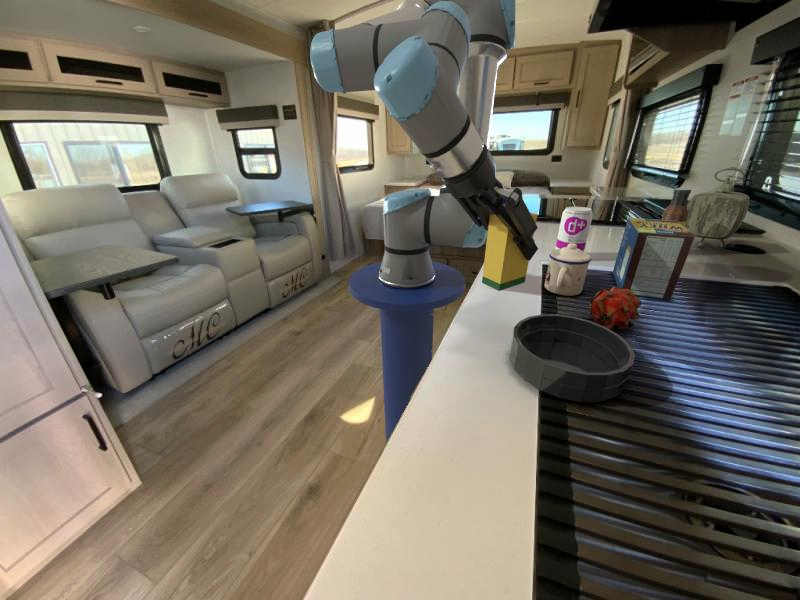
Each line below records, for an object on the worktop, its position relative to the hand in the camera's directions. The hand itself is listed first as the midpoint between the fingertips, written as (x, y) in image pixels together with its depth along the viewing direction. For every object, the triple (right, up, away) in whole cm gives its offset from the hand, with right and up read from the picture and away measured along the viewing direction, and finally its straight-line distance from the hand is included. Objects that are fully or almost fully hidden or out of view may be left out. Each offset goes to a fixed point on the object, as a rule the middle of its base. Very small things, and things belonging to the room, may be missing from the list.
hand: (520, 250), depth 62 cm
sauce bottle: (+63, +6, +46) cm, 79 cm away
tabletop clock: (+80, +9, +51) cm, 96 cm away
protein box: (+38, -6, +23) cm, 45 cm away
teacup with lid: (+17, -7, +20) cm, 28 cm away
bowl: (+4, -21, -7) cm, 22 cm away
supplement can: (+31, +4, +44) cm, 54 cm away
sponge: (-3, -6, +1) cm, 7 cm away
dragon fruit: (+20, -15, +5) cm, 25 cm away
